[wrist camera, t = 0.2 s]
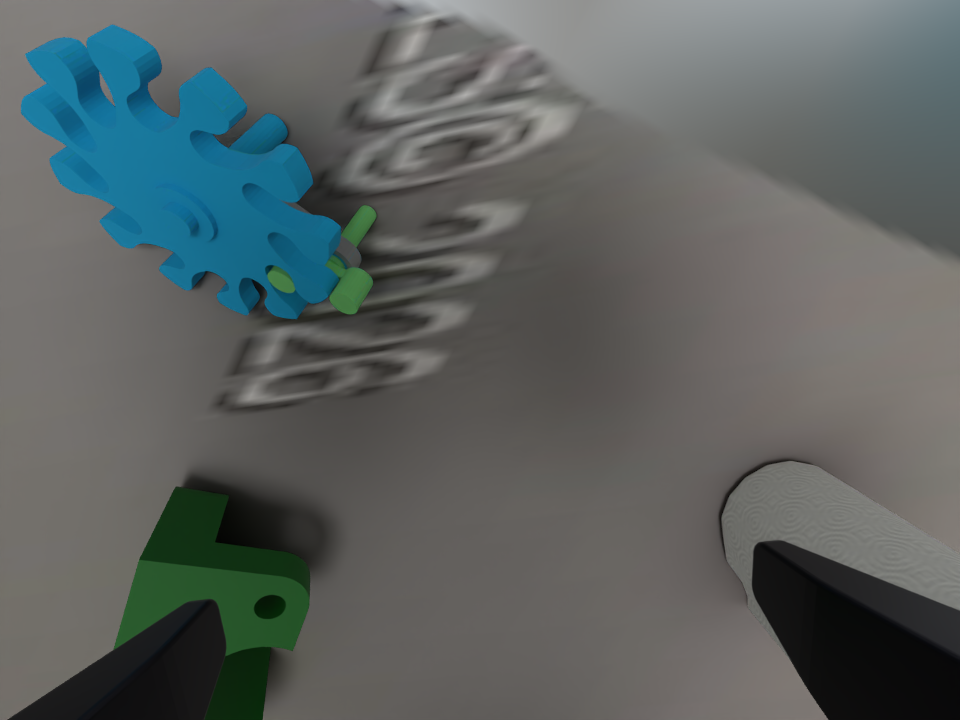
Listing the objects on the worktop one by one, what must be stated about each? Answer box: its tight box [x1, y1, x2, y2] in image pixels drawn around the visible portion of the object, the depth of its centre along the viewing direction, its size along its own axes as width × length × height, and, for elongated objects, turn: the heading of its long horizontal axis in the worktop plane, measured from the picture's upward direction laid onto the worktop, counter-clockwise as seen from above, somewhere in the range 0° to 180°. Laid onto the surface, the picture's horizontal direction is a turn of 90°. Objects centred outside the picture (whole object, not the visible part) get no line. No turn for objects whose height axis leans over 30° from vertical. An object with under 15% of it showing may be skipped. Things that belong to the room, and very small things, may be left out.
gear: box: [21, 25, 377, 319], centre depth 18 cm, size 11×6×10 cm
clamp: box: [114, 487, 310, 720], centre depth 21 cm, size 12×6×9 cm, turn 153°
